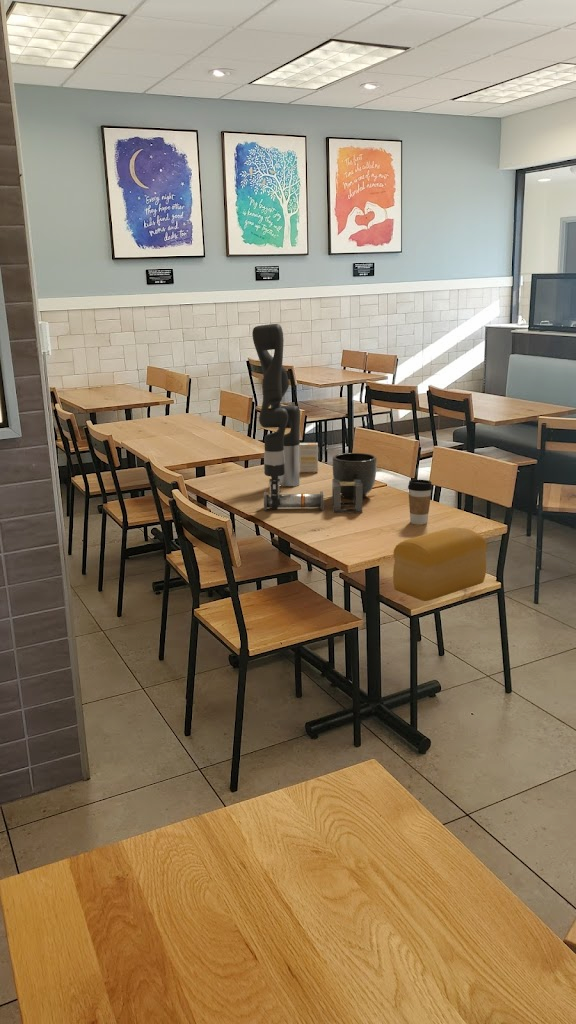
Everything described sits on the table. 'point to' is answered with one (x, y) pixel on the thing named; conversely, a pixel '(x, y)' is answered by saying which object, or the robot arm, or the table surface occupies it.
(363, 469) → the planter
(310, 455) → the supplement box
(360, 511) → the hollow square frame
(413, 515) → the coffee cup
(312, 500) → the tube
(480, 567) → the bread
